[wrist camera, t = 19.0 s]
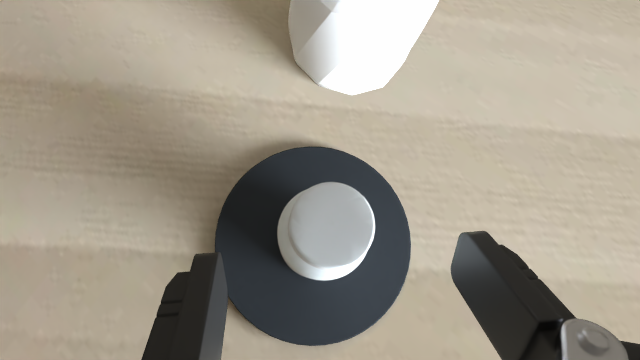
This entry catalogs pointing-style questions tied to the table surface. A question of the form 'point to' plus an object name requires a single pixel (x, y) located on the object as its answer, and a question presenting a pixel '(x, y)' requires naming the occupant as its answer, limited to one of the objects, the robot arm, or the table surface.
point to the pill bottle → (326, 231)
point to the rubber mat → (285, 284)
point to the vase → (355, 39)
